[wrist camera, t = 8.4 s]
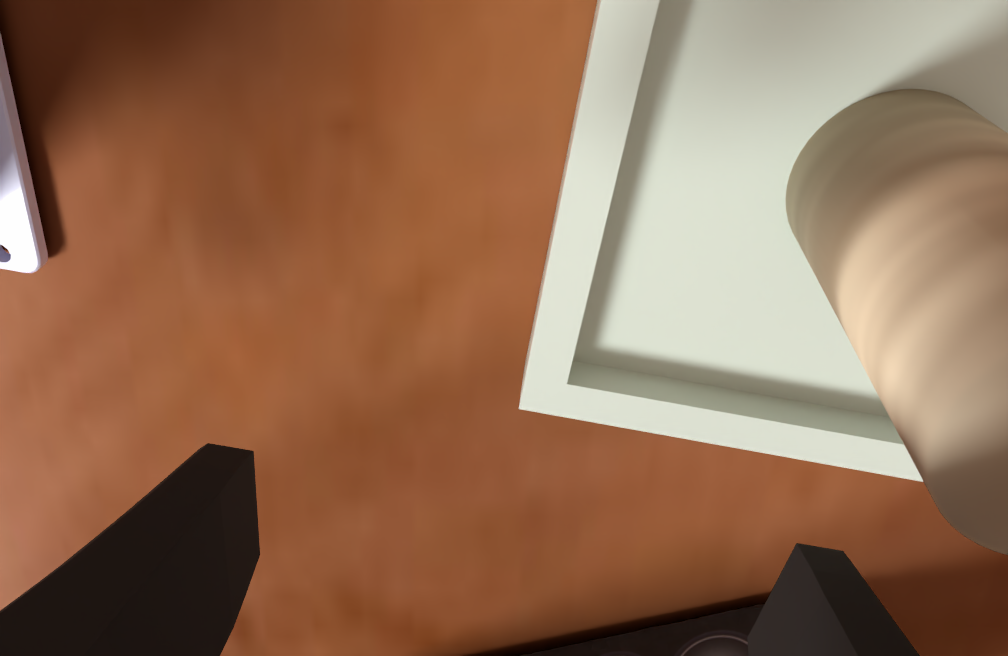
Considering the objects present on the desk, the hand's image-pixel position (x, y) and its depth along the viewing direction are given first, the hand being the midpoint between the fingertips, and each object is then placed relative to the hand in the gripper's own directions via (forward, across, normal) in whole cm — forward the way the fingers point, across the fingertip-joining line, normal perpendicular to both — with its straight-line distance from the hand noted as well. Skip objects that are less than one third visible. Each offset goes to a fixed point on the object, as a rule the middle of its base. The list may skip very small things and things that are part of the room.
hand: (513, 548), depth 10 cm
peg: (+8, -7, -3) cm, 11 cm away
